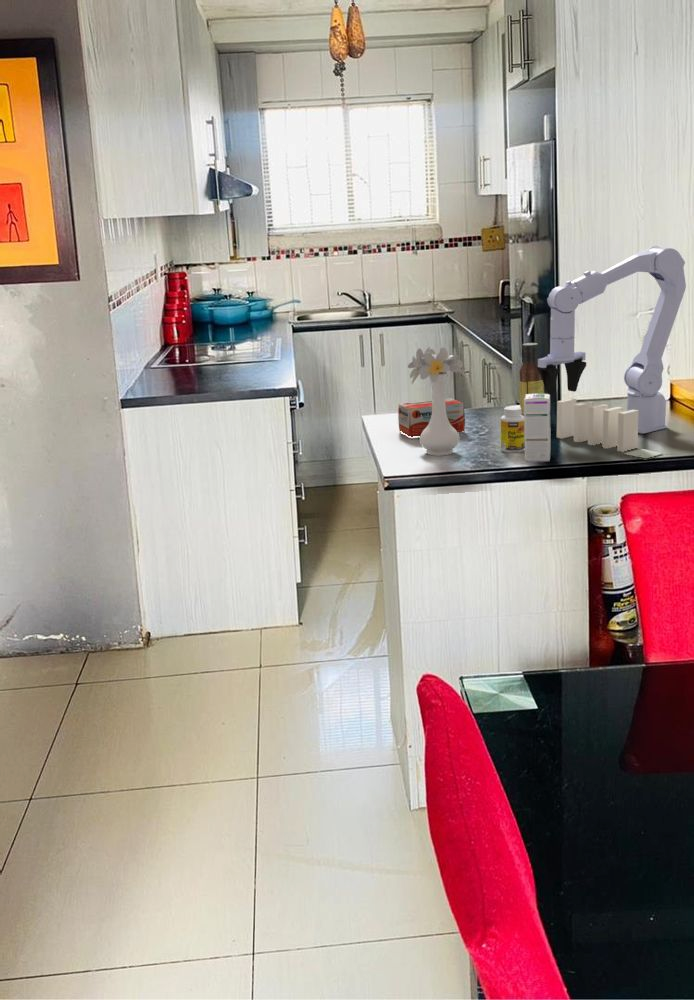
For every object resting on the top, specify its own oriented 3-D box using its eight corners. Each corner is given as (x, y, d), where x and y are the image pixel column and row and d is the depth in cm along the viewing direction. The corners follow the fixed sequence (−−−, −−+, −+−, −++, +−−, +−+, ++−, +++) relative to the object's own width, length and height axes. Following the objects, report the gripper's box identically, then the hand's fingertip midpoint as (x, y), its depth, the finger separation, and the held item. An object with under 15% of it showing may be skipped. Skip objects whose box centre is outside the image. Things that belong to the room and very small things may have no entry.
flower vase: (449, 441, 260) (447, 339, 253) (477, 458, 243) (476, 349, 235) (398, 446, 257) (395, 343, 249) (424, 464, 240) (421, 354, 232)
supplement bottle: (505, 454, 245) (505, 411, 242) (497, 449, 250) (497, 406, 247) (528, 452, 246) (528, 409, 243) (519, 446, 251) (519, 404, 248)
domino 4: (602, 447, 247) (603, 410, 244) (616, 444, 250) (617, 406, 247) (607, 448, 246) (608, 410, 243) (622, 445, 248) (623, 407, 246)
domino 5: (617, 451, 243) (618, 412, 241) (631, 447, 246) (633, 409, 244) (622, 452, 242) (623, 413, 240) (637, 448, 245) (638, 410, 242)
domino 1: (556, 437, 258) (557, 401, 256) (570, 434, 261) (571, 398, 259) (561, 438, 257) (562, 402, 255) (575, 435, 260) (576, 399, 257)
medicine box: (452, 427, 275) (452, 396, 273) (465, 433, 268) (465, 402, 265) (398, 433, 271) (397, 403, 268) (410, 440, 263) (409, 408, 261)
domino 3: (587, 444, 251) (588, 407, 248) (602, 440, 253) (603, 404, 251) (592, 445, 249) (593, 408, 247) (607, 442, 252) (608, 404, 249)
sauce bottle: (547, 417, 280) (548, 342, 274) (538, 422, 275) (539, 346, 269) (524, 415, 284) (525, 341, 278) (515, 420, 279) (515, 344, 273)
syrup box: (550, 461, 237) (550, 398, 233) (523, 461, 238) (523, 398, 234) (550, 455, 243) (551, 393, 238) (524, 455, 244) (524, 393, 240)
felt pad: (641, 450, 243) (641, 448, 243) (662, 454, 239) (662, 453, 238) (624, 454, 240) (624, 453, 240) (645, 459, 235) (645, 458, 235)
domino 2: (573, 441, 254) (574, 404, 252) (587, 437, 257) (588, 401, 254) (578, 442, 253) (579, 405, 250) (592, 438, 256) (593, 402, 253)
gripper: (570, 332, 261) (569, 386, 265) (528, 339, 253) (528, 395, 257) (592, 335, 255) (591, 390, 259) (550, 342, 247) (549, 399, 251)
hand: (561, 393), depth 258 cm, fingers open, 7 cm apart
